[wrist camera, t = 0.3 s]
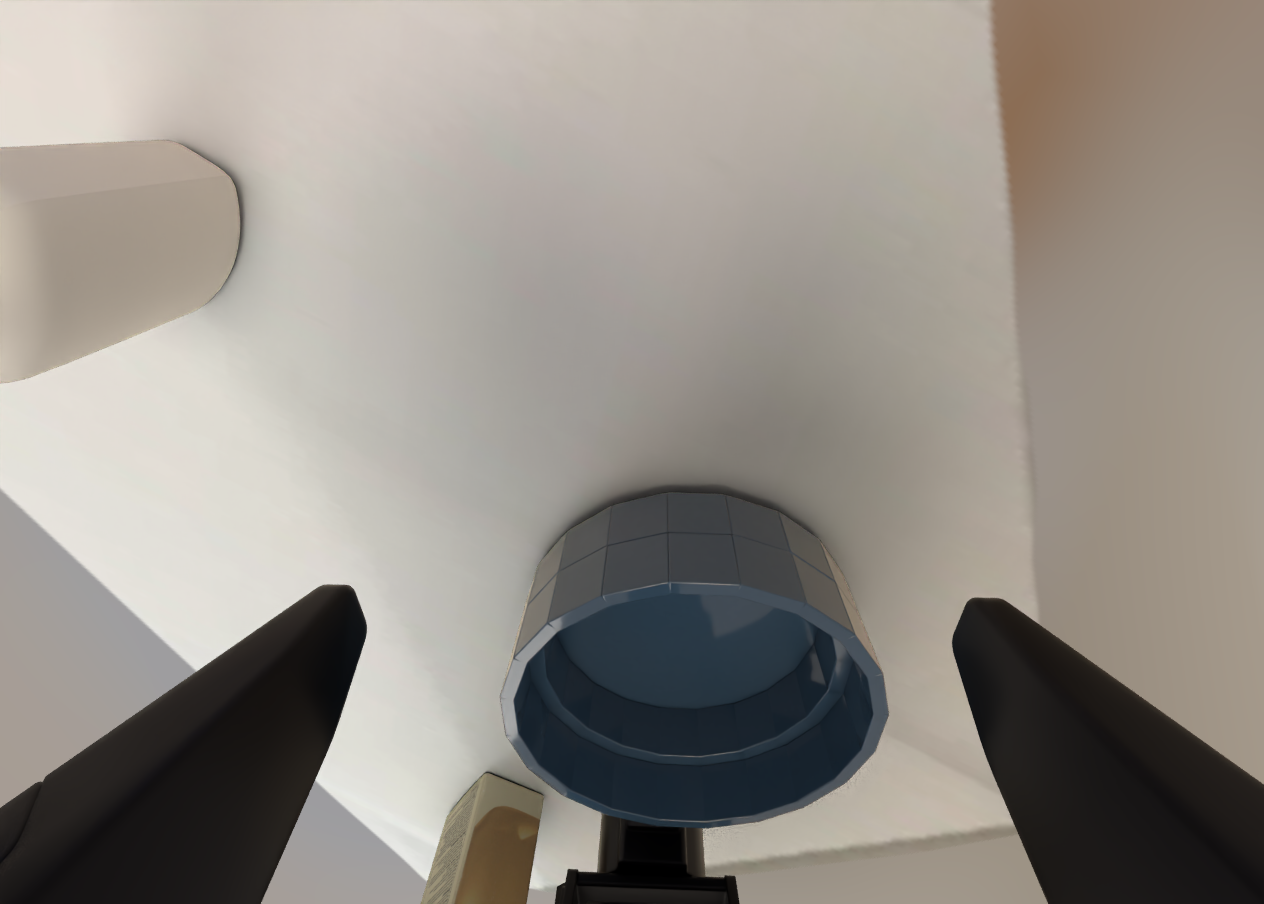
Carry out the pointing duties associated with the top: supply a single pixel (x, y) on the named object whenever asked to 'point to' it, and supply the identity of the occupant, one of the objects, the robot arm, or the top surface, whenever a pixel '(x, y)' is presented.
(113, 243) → the eye dropper bottle
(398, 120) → the top surface
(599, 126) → the top surface
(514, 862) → the cosmetic box
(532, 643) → the bowl
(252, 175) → the top surface
